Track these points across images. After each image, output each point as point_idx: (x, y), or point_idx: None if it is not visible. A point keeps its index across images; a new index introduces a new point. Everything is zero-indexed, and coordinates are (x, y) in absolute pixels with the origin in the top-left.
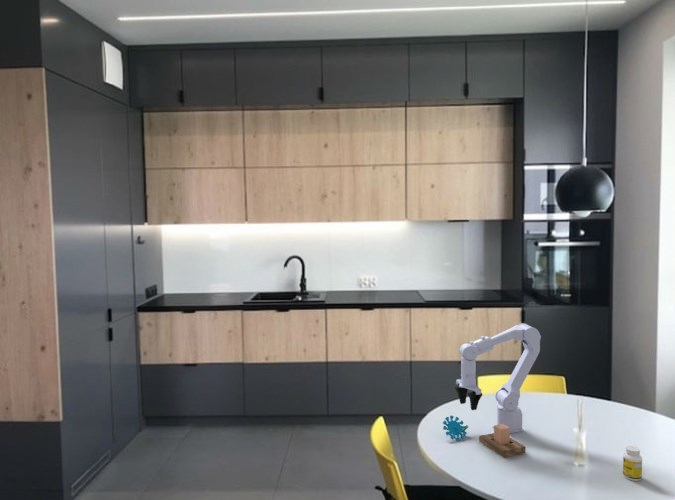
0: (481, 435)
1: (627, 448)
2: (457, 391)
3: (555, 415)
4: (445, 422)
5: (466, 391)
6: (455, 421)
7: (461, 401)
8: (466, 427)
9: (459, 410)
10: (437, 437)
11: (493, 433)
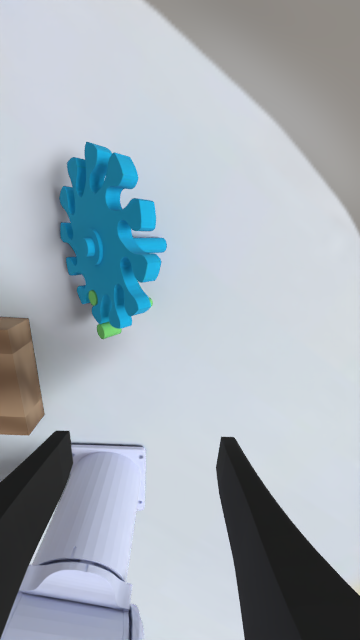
0: (8, 340)
1: None
2: (313, 571)
3: (145, 608)
4: (111, 173)
5: (246, 632)
6: (117, 275)
7: (225, 458)
8: (99, 324)
9: (345, 438)
10: (148, 145)
11: (18, 400)
